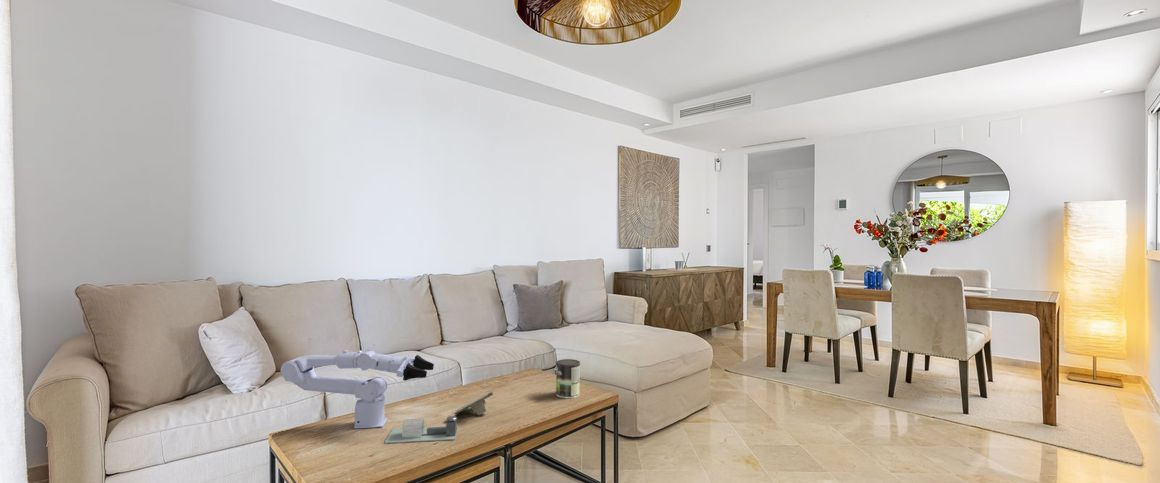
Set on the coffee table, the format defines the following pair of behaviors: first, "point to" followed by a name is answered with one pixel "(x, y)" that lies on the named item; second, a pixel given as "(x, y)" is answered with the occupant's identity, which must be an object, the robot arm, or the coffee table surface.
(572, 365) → the coffee can
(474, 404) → the grey slanted panel
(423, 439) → the mat
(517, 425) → the coffee table surface
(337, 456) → the coffee table surface
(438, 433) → the coupler
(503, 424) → the coffee table surface
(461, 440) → the coffee table surface
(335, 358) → the robot arm
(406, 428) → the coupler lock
